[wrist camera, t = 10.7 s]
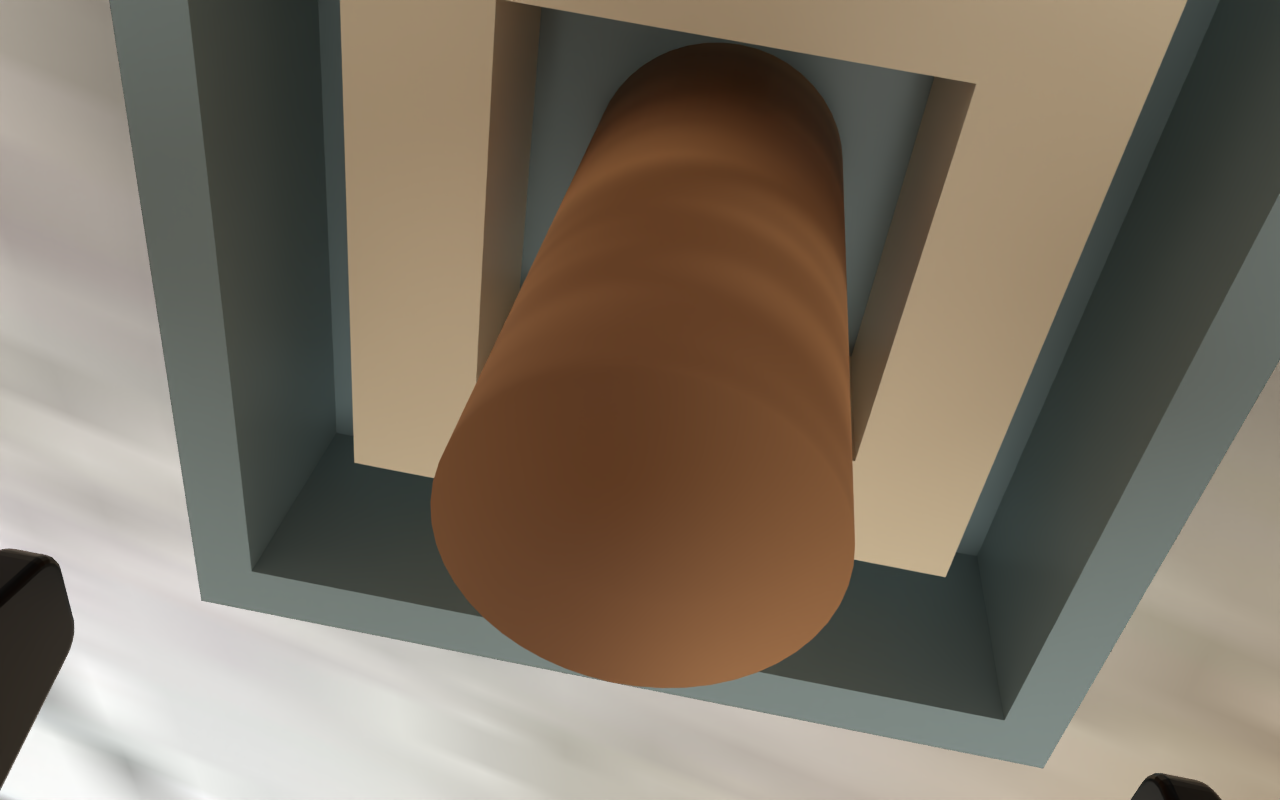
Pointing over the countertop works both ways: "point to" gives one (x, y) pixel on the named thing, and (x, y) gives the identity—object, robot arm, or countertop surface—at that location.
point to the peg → (670, 392)
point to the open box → (876, 300)
